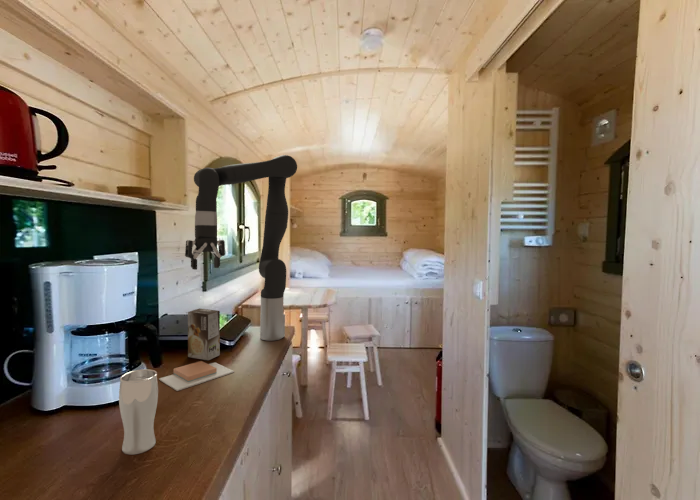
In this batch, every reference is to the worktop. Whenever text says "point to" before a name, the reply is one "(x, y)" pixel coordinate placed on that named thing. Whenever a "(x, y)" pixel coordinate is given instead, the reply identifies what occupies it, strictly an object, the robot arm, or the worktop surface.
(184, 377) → the tile
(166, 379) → the mat
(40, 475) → the worktop surface
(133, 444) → the beer glass
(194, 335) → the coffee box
